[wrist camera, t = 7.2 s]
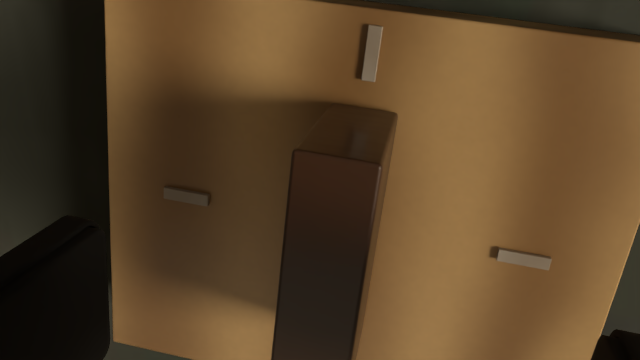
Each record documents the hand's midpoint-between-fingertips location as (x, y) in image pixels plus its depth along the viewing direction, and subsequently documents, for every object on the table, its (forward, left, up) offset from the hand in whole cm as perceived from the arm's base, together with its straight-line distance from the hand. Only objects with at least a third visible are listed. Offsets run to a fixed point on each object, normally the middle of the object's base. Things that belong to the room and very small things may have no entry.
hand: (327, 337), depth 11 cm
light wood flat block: (+1, 0, -9) cm, 9 cm away
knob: (+1, 0, -6) cm, 6 cm away
